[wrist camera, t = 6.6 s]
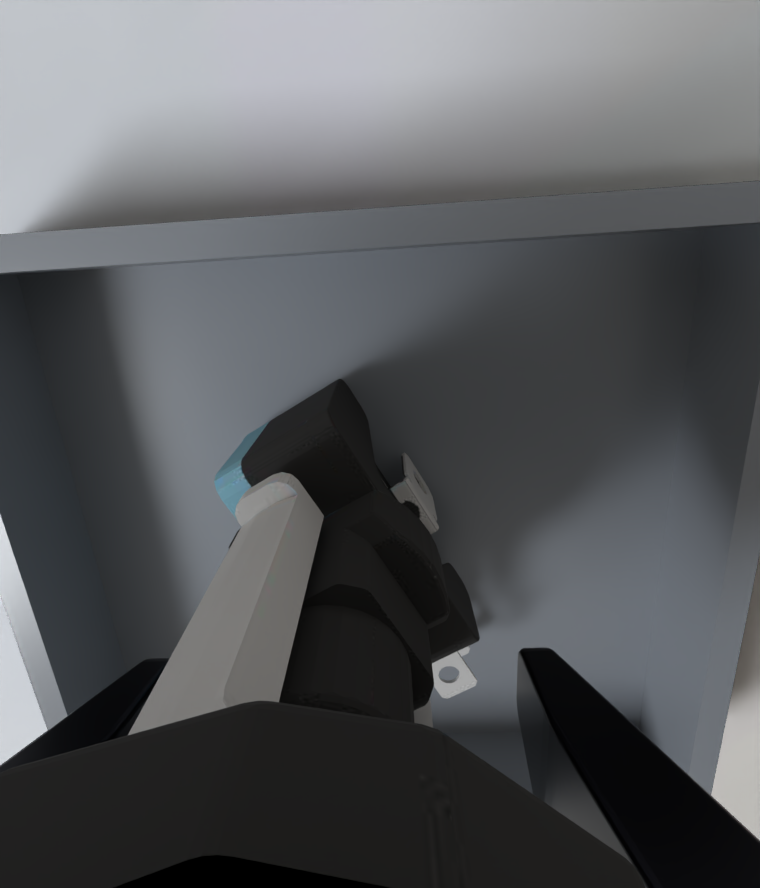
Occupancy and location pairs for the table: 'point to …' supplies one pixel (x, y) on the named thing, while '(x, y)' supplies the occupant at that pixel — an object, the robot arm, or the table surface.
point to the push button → (303, 710)
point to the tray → (406, 431)
